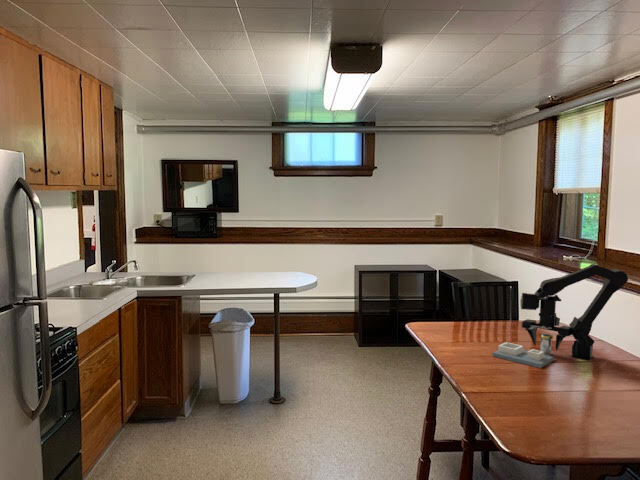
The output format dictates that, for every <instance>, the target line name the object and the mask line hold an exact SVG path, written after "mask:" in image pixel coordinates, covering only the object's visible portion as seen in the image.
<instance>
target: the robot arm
mask: <svg viewBox="0 0 640 480" xmlns="http://www.w3.org/2000/svg"><path fill="white" fill-rule="evenodd" d="M595 276H598V277H601V278H604V280H603V282H602V283H603V284H602V286H601V288H600V290H599V291H598V293H597V294H596V296H595V297H594V298H593V299H592V300H591V303H590V304H589V305H588V306H587V308H586V309H585V311H584V313H583V314H582V315H581V316H579V317H578V318H577V317H576V316H574V317H573V319H572V320H571V322H570V323H569V326H568V325H561V326H560V322H561V318H559V317H558V316H557V313H556V305H557V302H562V299H561V298H560V297H559V295H558V293H560V292H561V291H563V290H564V289H565V288H567V287H569V286H572V285H574V284H576V283H579V282H582V281H584V280H586V279H589V278H591V277H595ZM628 280H629V277H628V275H627V273H626V272H624V271H622V270H619V269H618V268H617V269H616V268H613V269H609V268H607V267H603V266H600V265H598V264H595V263H593V264H589V265H588V266H586V267H583V268H580V269H578V270H576V271H573V272H571V273H568V274H566V275H563V276H560V277H554V278H553V277H552V278H550V279H549V278H548V279H545V280H543V281H541V283H540V285H539V288H538V289H537V290H536V291H535V292H534V293H527V292H522V293H521V298H520V310H531V311H536V310H538V309H539V312H538V316H539V322H537V321H536V320H534V319H528V318H527V319H525V320H523V321H522V322H521V328H523V329H524V331H527V333H528V335H529V336H530V338H531V341H532V344H533V346H536V345H537V330H538V329H542V330H547V331H552V332H557V333H558V334H555V335H556V336H555V351H558V350H559V348H560V346H561V344H562V341H563V340H564V339H565V338H567V337H571V336H572V337H573V338H574V341H573V344H571V357H572V358H575V359H580V360H584V361H590V360H592V359H593V358H594V355H593V351H594V350H593V346H594V343H595V340H594V339H593V338H592V337H591V336H590V333H591V330H592V326H593V323H594V321H595V320H596V318H597V317H598V316H599V315H600V313H601V311H602V310H603V309H604V307H605V306H606V304H607V303H608V302H609V300H610V299H611V297H612V296H613V295H614V293H616V292H618V291H619V290H621V289H622V288H623V287H624V286H625V285H626V284H627V283H628Z"/></svg>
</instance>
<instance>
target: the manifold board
mask: <svg viewBox="0 0 640 480" xmlns="http://www.w3.org/2000/svg"><path fill="white" fill-rule="evenodd" d="M492 357H494V358H498V359H502V360H506V361H511V362H515V363H518V364H521V365H526V366H530V367H535V368H538V369H542V368H543V367H545V366H547V365H548V364H550V363H551V362H554V356H551V355H544V352H543V351H540V349H539V350H538V349H534V348H531V349H530V350H527V349H526V350H525V349H524V345H521V344H518V343H517V344H516V343H513V342H512V343H511V342H506V341H505V342H503V343H501V344H499V345H498V349H497V350H496V351H493V352H492Z"/></svg>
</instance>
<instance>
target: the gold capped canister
mask: <svg viewBox="0 0 640 480" xmlns="http://www.w3.org/2000/svg"><path fill="white" fill-rule="evenodd" d="M539 339H540V345H539V346H540V349H539V351H543V352H544V355H548V356H551V355H552V354H551V353H552V340H553V339H554V335H553V334H551V333H546V332H541V333H539Z"/></svg>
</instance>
